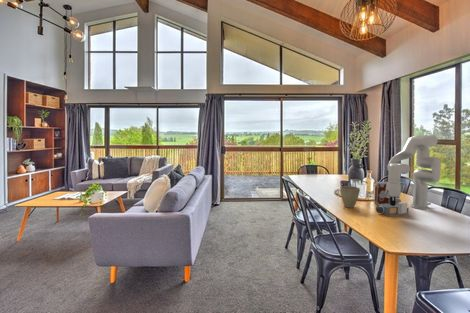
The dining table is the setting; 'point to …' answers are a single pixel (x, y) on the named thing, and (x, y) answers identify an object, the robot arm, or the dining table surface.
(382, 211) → the housing
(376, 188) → the dark red boxy piece
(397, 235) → the dining table surface
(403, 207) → the off-white foam block
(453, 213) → the dining table surface
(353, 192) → the plant pot
